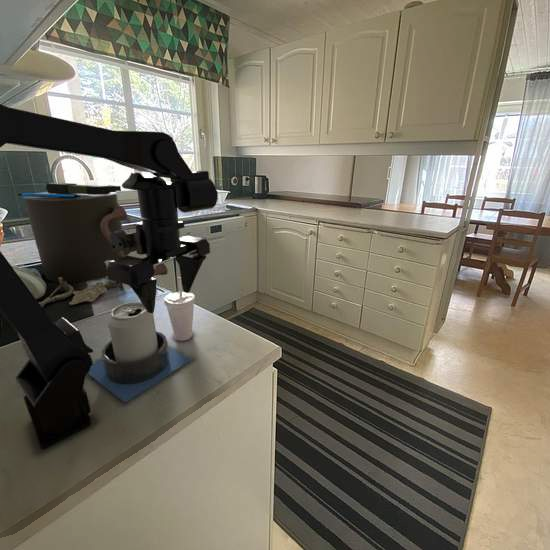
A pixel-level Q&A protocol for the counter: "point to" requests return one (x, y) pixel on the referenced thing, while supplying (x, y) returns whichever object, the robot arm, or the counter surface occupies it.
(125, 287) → the figurine
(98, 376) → the napkin
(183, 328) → the smoothie
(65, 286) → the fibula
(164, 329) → the counter surface
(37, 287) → the boat shoe
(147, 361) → the pan
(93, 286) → the artifact
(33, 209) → the container
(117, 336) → the can
